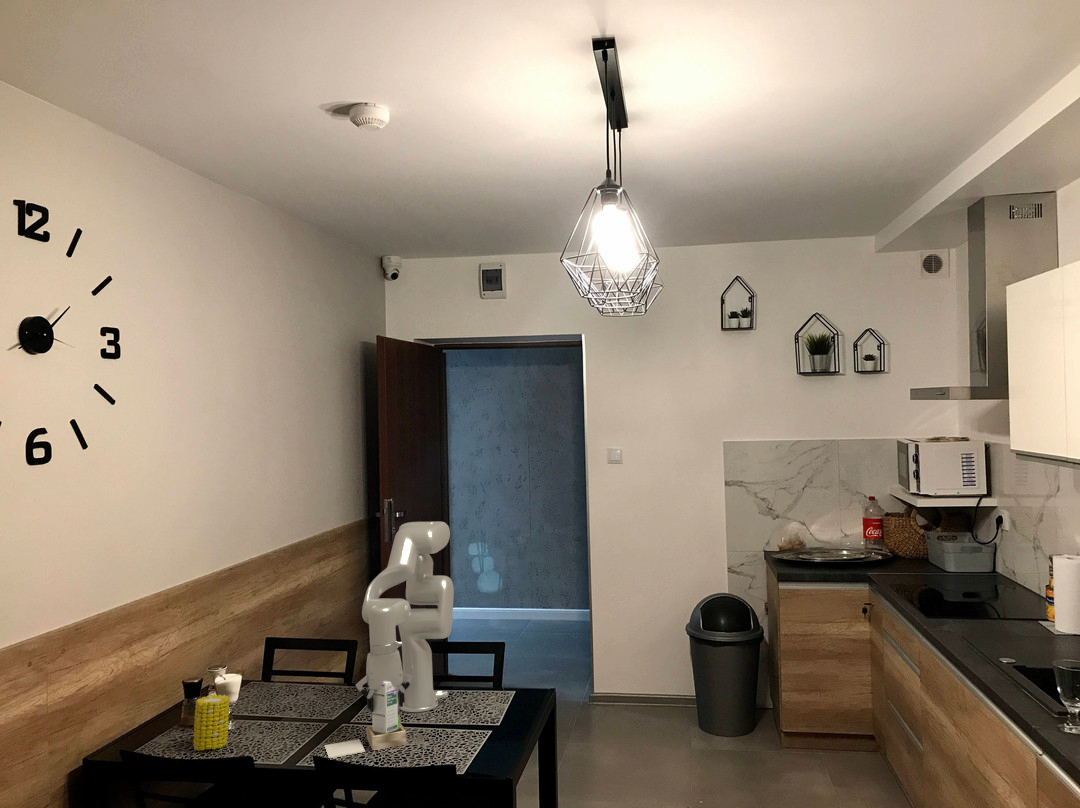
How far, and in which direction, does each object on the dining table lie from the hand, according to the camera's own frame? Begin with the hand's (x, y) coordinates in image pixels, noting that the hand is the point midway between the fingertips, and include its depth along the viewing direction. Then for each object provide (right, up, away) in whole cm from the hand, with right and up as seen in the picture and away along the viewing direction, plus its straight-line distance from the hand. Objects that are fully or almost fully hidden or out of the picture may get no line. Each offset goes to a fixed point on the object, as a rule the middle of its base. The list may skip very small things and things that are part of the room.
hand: (386, 707), depth 242 cm
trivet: (-11, -10, -6) cm, 16 cm away
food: (-51, -12, +2) cm, 53 cm away
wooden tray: (0, -10, -1) cm, 10 cm away
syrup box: (0, -6, -1) cm, 7 cm away
